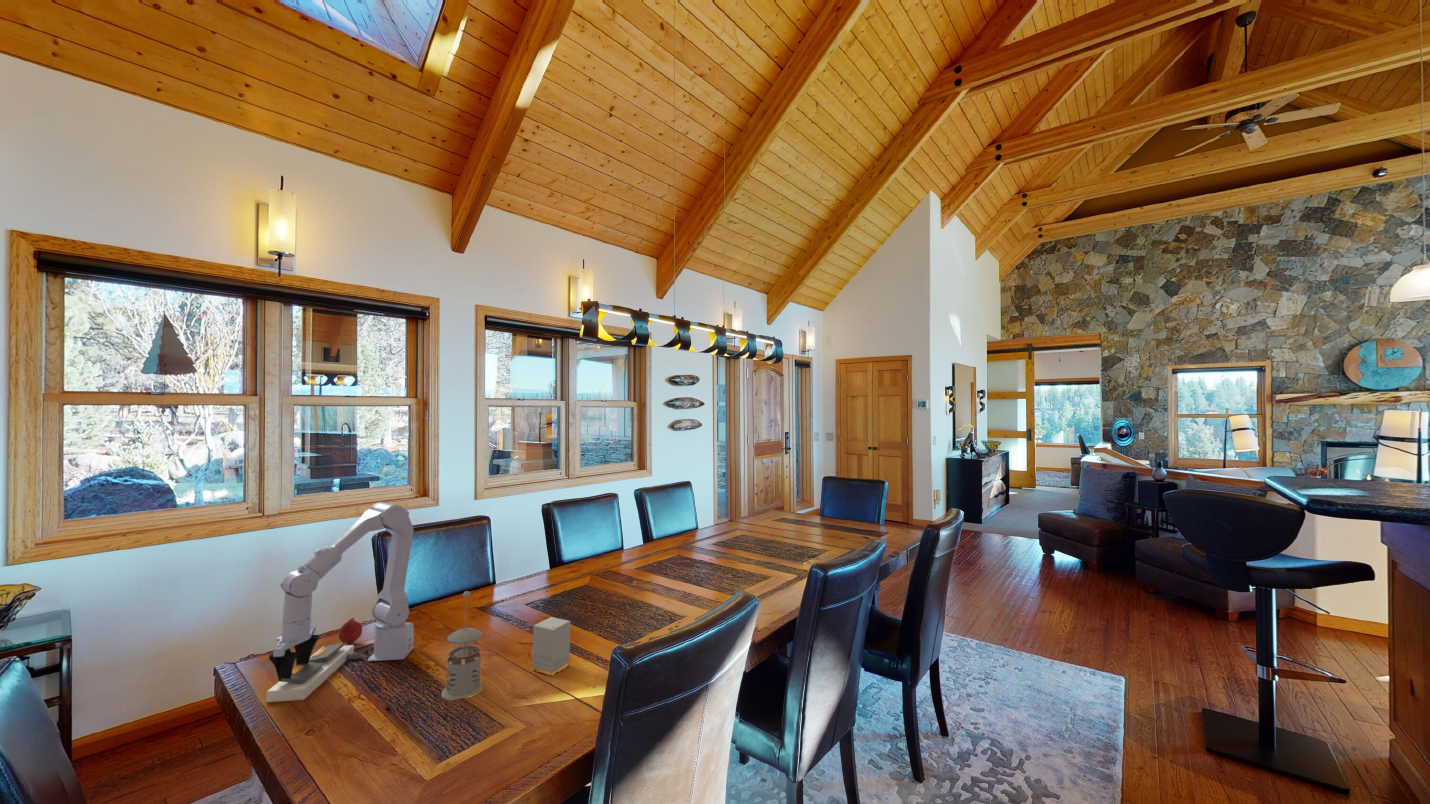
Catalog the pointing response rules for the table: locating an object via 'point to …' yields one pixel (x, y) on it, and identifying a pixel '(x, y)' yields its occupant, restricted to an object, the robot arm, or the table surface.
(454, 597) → the table surface
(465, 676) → the french press
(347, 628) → the onion
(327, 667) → the rocker switch panel
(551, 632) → the supplement box
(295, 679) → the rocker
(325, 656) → the rocker
